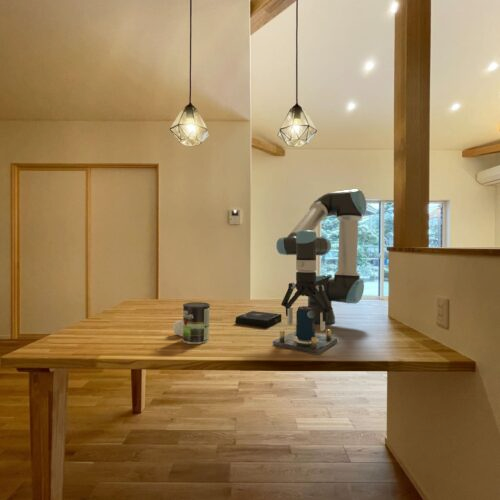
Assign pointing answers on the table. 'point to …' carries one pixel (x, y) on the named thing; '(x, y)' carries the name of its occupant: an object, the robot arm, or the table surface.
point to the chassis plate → (306, 342)
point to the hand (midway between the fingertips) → (305, 327)
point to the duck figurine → (178, 327)
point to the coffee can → (196, 323)
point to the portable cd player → (258, 319)
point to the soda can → (305, 323)
